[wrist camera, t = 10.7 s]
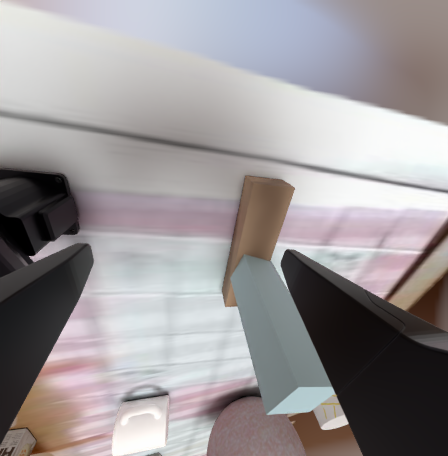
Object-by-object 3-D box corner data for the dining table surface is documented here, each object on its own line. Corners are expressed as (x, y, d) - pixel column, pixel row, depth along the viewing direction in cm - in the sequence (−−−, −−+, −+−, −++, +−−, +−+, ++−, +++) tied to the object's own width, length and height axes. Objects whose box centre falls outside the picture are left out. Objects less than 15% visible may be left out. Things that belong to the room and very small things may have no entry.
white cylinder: (327, 340, 44) (370, 408, 33) (316, 359, 48) (351, 424, 37) (296, 345, 42) (331, 417, 32) (287, 363, 46) (315, 432, 36)
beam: (222, 290, 29) (225, 306, 27) (245, 175, 21) (253, 183, 18) (249, 289, 30) (254, 305, 28) (282, 179, 22) (295, 187, 19)
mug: (169, 402, 47) (166, 451, 40) (126, 409, 45) (115, 462, 38) (167, 380, 41) (163, 432, 34) (118, 387, 39) (103, 444, 32)
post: (230, 278, 24) (266, 415, 13) (243, 254, 22) (298, 387, 11) (256, 283, 25) (309, 411, 14) (271, 261, 24) (344, 386, 13)
